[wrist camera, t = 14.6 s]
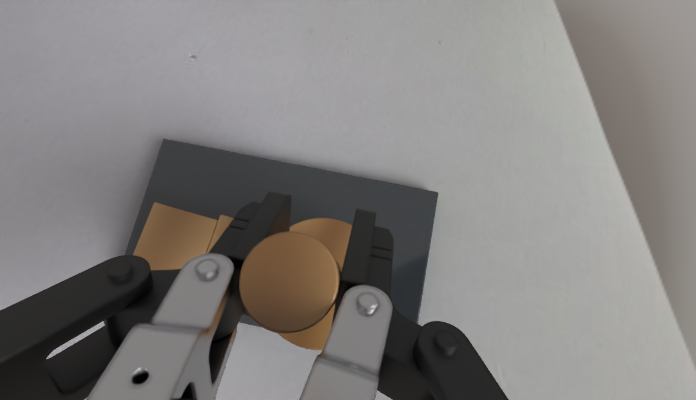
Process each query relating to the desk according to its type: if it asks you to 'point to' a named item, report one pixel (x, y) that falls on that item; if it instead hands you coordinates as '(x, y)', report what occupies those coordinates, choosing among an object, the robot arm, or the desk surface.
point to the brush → (296, 280)
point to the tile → (296, 204)
